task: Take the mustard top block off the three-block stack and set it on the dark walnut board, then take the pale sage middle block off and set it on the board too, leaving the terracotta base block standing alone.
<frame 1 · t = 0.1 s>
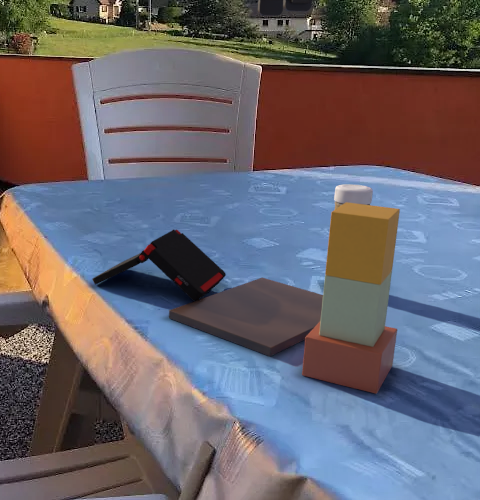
hand: (282, 13, 62), 33 cm above the table, tool pointing down, fingers open, 8 cm apart
board: (265, 315, 82), on the table
base block: (347, 370, 69), on the table, touching middle block
top block: (359, 272, 66), point 10 cm above the table, touching middle block
middle block: (352, 332, 68), point 4 cm above the table, touching base block, top block
spice jar: (343, 289, 93), on the table
handheld gaming console: (181, 250, 89), point 5 cm above the table
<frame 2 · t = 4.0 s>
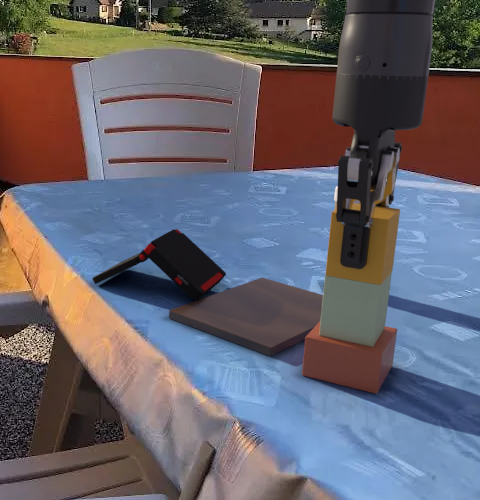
hand: (360, 258, 66), 11 cm above the table, tool pointing down, fingers closed on top block, 5 cm apart
top block: (359, 273, 66), point 10 cm above the table, touching gripper, middle block
everything else where it was.
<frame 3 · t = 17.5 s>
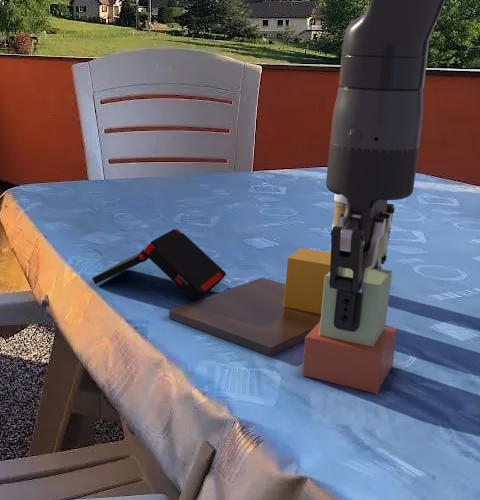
hand: (353, 318, 67), 5 cm above the table, tool pointing down, fingers closed on middle block, 5 cm apart
top block: (310, 304, 83), point 1 cm above the table, touching board
middle block: (352, 332, 68), point 4 cm above the table, touching base block, gripper
everything else where it was.
when the fingers open (2 cm above the table, at t = 25.1 s): middle block stays where it is, resting on board.
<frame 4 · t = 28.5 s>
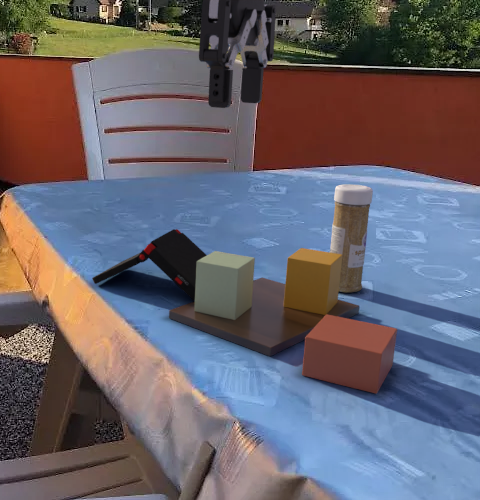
hand: (235, 105, 75), 24 cm above the table, tool pointing down, fingers open, 8 cm apart
base block: (347, 370, 69), on the table
middle block: (223, 309, 81), point 1 cm above the table, touching board
everything else where it was.
at the end: top block inside the target area (5.7 cm from its centre), point 1.0 cm above the table; middle block inside the target area (5.1 cm from its centre), point 1.0 cm above the table; base block moved 0.0 cm from its start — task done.
